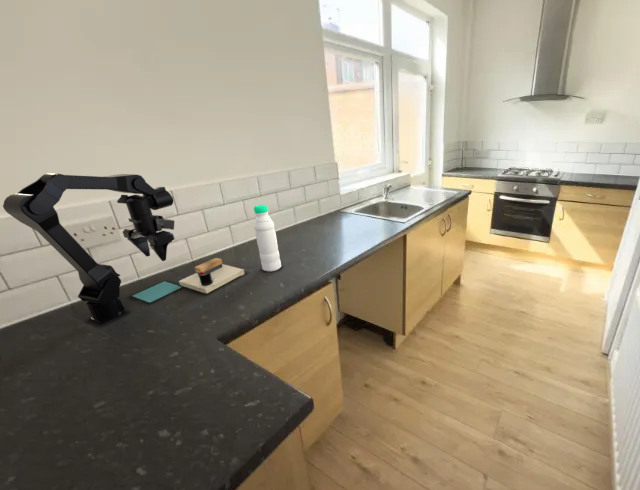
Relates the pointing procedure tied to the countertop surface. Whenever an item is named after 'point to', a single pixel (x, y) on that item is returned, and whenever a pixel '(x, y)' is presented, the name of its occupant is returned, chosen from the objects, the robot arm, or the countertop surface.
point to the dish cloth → (156, 291)
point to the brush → (209, 265)
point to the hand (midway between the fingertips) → (156, 258)
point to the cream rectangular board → (218, 277)
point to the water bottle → (266, 239)
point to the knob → (205, 278)
